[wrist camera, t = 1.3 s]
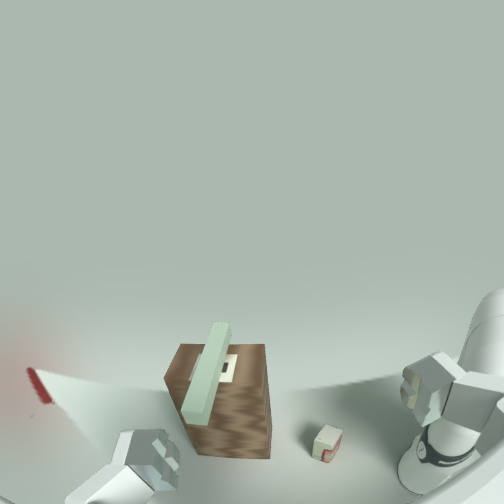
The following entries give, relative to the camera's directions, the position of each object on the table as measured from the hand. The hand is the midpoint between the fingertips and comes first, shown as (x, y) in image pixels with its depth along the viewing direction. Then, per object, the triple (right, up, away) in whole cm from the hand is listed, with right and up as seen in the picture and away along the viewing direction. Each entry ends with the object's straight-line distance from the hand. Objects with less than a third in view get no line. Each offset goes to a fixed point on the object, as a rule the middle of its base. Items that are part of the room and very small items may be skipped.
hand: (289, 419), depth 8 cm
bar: (-8, -14, +34) cm, 38 cm away
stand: (-5, -38, +45) cm, 59 cm away
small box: (+15, -38, +39) cm, 57 cm away
